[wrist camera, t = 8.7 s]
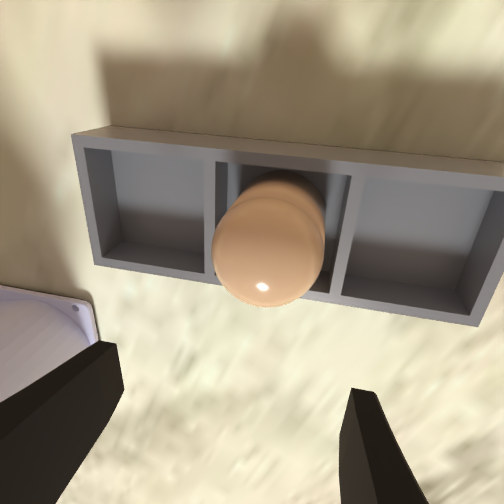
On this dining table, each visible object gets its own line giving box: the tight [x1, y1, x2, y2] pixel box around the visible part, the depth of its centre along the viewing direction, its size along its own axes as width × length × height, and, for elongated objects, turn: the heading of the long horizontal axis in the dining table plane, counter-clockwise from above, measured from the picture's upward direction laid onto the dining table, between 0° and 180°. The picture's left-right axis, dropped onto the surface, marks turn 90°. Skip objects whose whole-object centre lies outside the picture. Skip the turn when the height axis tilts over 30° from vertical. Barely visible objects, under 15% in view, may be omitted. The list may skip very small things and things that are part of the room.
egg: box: [211, 170, 326, 307], centre depth 14 cm, size 4×4×6 cm
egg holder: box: [71, 126, 504, 327], centre depth 16 cm, size 18×6×3 cm, turn 87°
